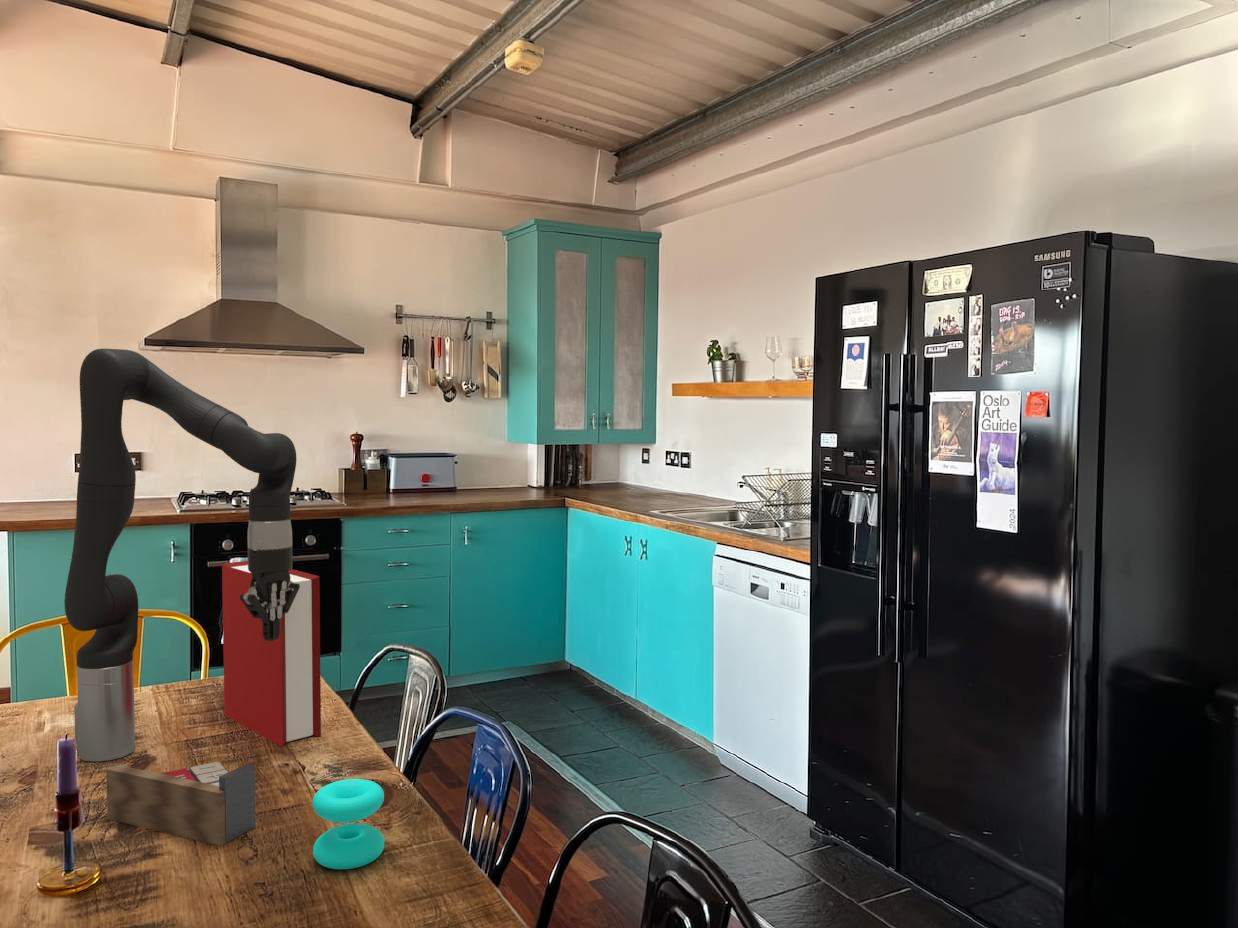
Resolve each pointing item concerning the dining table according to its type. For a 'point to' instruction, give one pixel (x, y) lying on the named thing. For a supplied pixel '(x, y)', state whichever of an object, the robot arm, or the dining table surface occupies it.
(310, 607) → the book
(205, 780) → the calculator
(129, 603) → the robot arm
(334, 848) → the donuts
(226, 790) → the bookend
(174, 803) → the mottled stone block
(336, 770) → the dining table surface
